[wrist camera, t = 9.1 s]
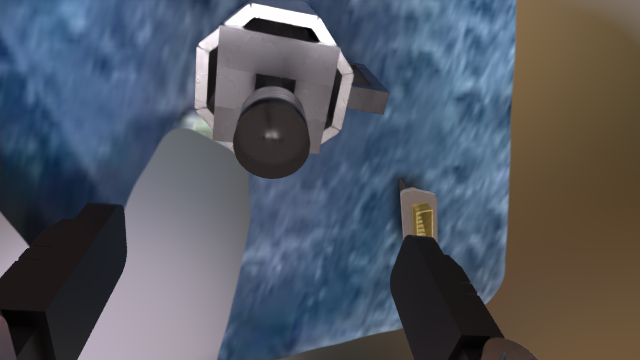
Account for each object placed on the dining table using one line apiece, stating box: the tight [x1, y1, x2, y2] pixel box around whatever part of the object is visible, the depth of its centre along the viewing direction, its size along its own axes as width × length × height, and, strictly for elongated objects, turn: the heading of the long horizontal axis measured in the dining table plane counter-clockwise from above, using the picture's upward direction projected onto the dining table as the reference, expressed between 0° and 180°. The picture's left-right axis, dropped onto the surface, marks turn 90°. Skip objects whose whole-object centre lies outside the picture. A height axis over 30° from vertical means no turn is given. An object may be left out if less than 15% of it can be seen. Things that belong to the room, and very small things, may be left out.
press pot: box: [195, 0, 389, 154], centre depth 30 cm, size 10×13×15 cm
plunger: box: [233, 18, 312, 179], centre depth 24 cm, size 7×7×18 cm
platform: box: [399, 178, 437, 242], centre depth 44 cm, size 12×18×7 cm, turn 9°
